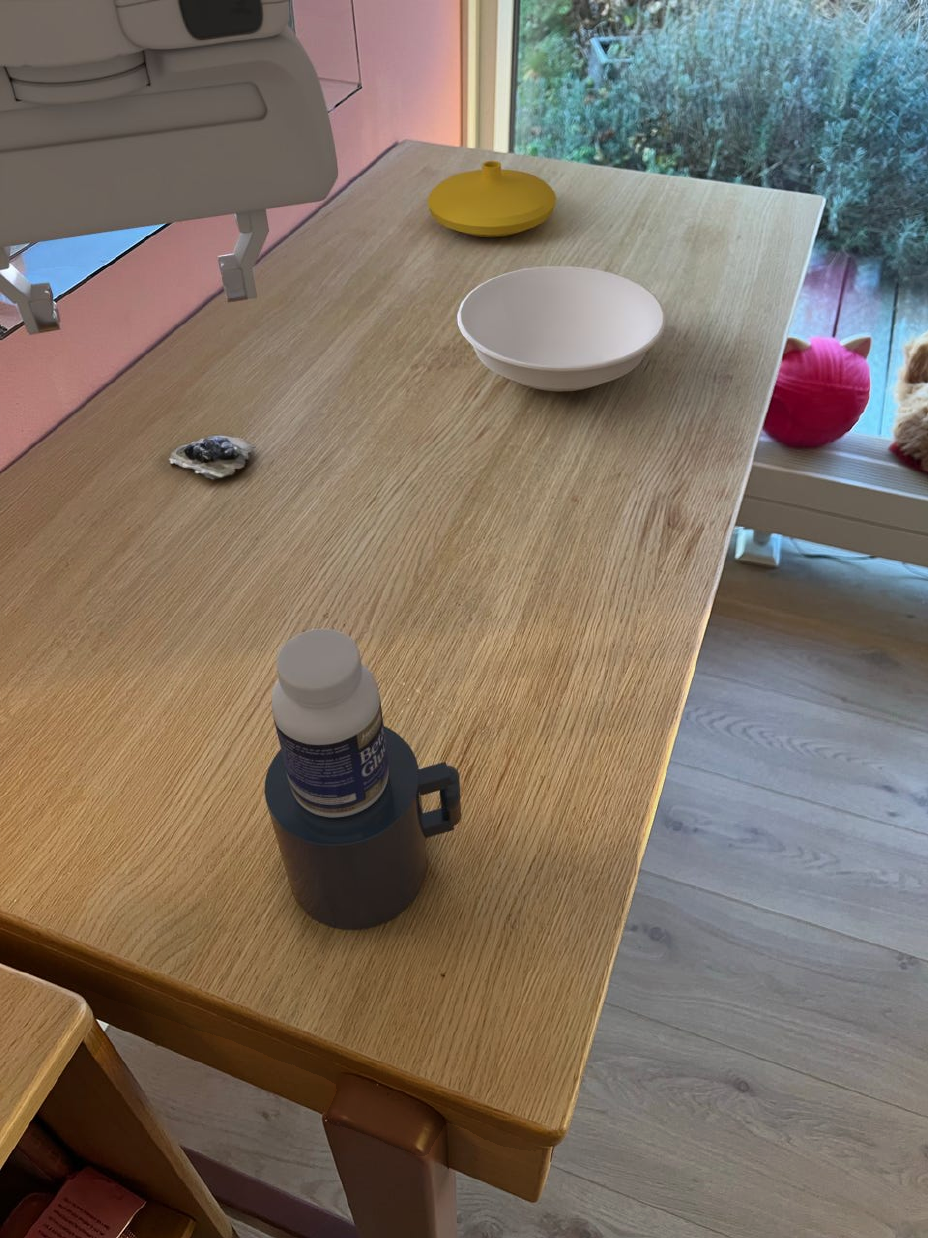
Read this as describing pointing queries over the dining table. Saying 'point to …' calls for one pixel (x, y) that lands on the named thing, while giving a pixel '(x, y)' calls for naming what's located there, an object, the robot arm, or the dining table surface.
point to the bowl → (561, 326)
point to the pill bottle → (329, 724)
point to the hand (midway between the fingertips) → (144, 311)
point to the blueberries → (213, 455)
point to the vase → (491, 201)
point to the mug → (363, 841)
